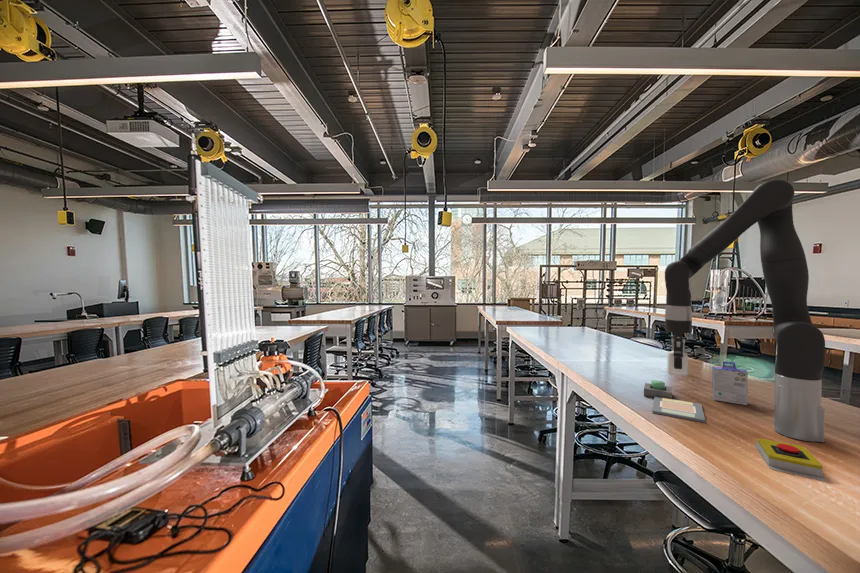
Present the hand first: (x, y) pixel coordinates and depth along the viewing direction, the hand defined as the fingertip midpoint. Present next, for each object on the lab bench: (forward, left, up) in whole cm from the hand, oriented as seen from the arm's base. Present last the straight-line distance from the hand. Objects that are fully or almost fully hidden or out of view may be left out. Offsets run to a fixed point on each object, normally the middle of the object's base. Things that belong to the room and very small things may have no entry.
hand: (677, 367), depth 117 cm
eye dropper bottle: (0, 0, -3) cm, 3 cm away
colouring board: (0, 0, -15) cm, 15 cm away
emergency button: (-22, +26, -16) cm, 37 cm away
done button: (+6, -14, -13) cm, 20 cm away
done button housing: (+6, -14, -15) cm, 21 cm away
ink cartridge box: (-16, -22, -15) cm, 31 cm away
